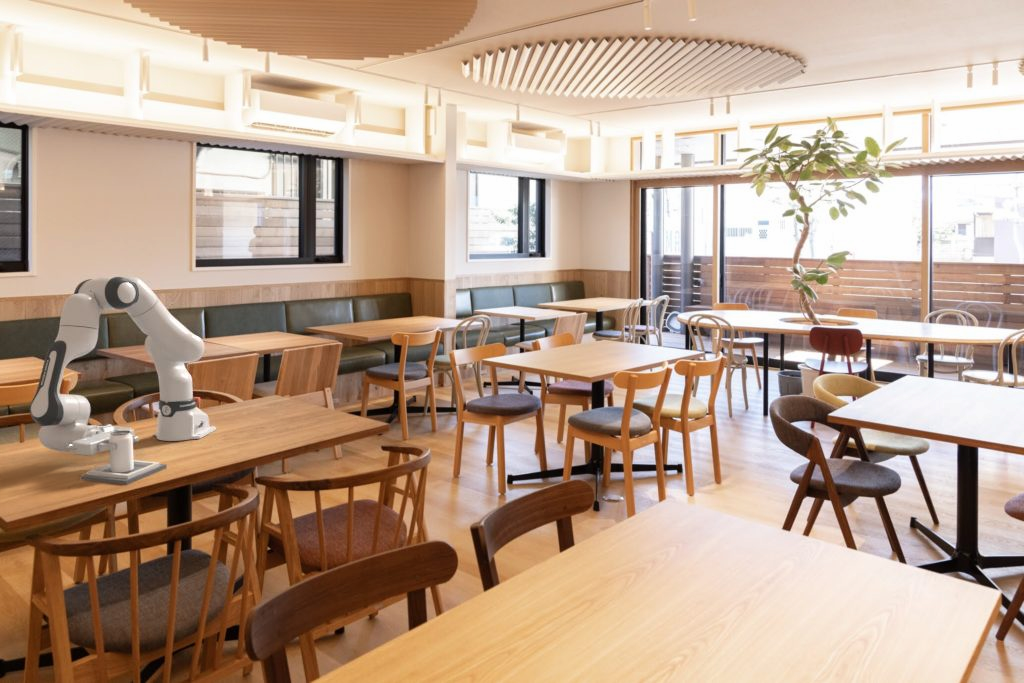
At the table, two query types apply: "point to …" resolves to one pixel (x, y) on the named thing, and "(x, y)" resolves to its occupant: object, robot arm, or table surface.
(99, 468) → the grey rimmed tray
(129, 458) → the can
